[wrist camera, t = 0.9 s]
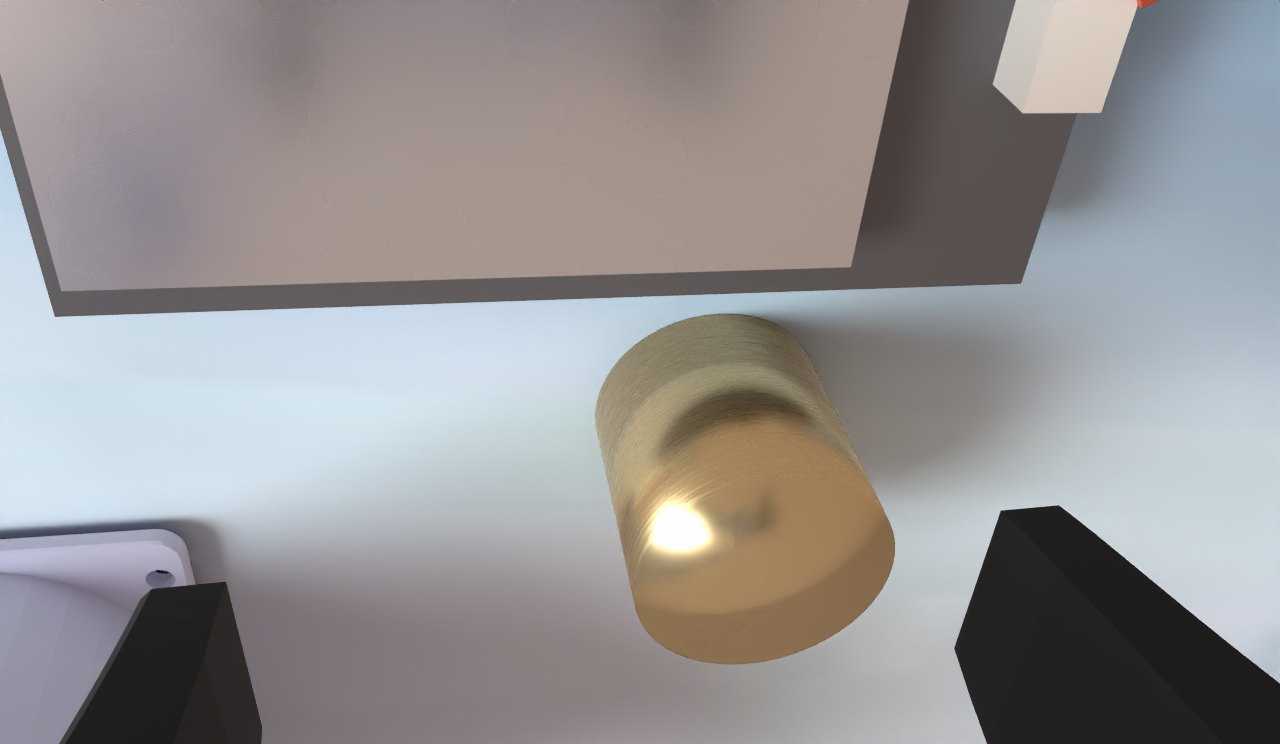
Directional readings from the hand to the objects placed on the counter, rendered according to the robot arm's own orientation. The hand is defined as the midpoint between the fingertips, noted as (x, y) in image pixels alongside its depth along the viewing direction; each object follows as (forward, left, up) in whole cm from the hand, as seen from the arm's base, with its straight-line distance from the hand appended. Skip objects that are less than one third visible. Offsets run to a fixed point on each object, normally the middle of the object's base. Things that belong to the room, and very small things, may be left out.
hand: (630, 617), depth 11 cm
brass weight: (-5, -4, -10) cm, 12 cm away
